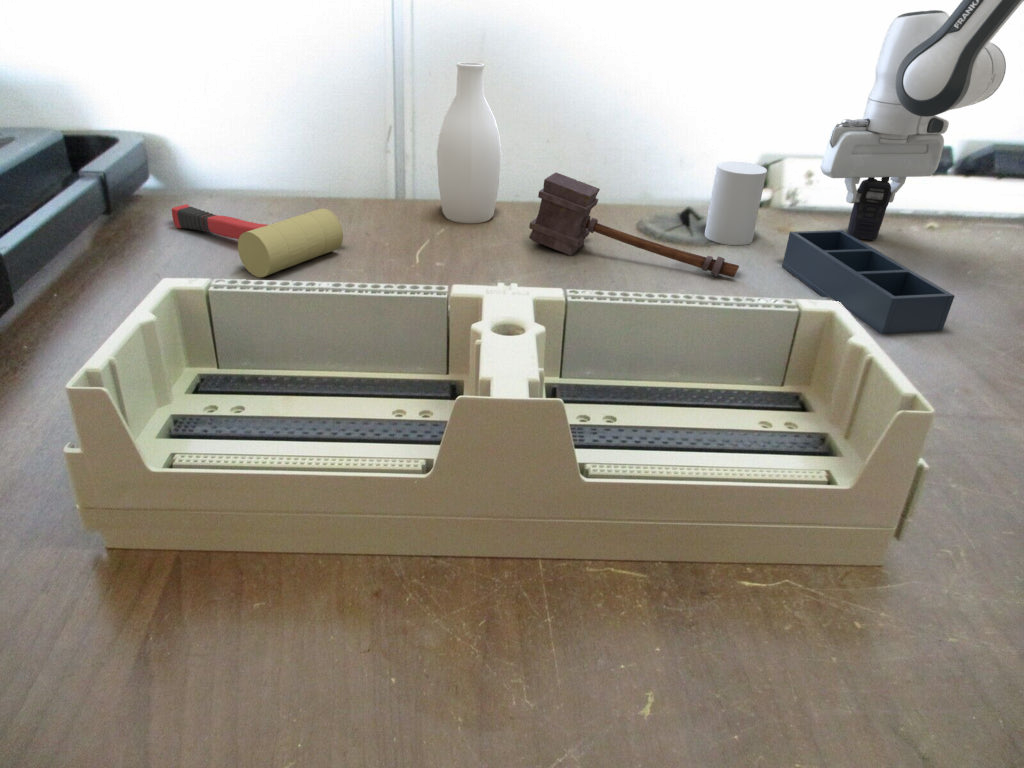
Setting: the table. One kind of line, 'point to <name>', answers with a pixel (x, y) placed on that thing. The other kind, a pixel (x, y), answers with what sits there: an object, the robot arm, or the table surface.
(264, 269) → the mallet
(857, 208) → the two-way radio
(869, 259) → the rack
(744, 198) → the white cylinder
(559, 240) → the hammer
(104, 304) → the table surface
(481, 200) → the bottle
